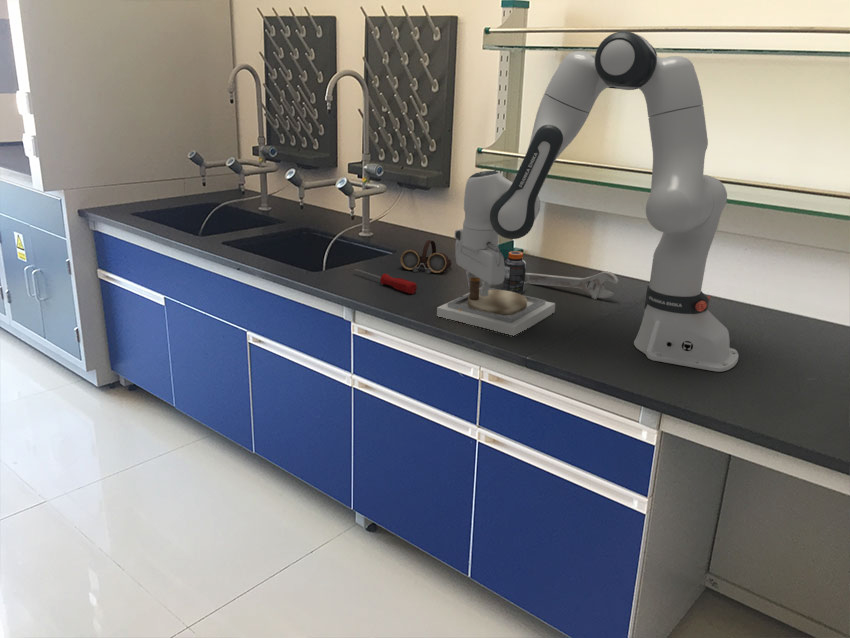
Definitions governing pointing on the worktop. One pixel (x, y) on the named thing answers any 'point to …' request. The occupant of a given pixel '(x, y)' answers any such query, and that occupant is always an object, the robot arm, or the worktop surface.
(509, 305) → the dial
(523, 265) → the pill bottle
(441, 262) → the goggles
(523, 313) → the control plate
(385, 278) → the screwdriver
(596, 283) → the wrench
